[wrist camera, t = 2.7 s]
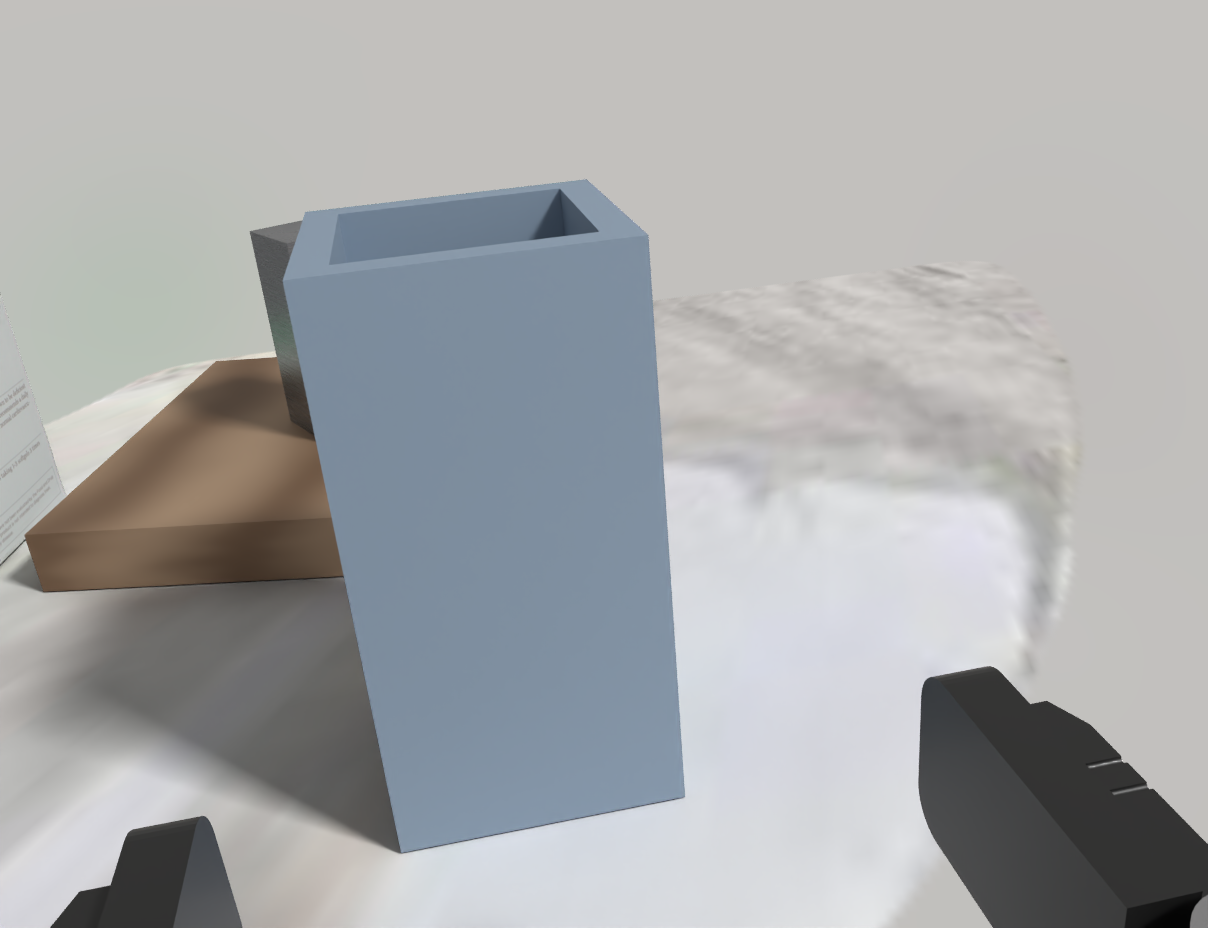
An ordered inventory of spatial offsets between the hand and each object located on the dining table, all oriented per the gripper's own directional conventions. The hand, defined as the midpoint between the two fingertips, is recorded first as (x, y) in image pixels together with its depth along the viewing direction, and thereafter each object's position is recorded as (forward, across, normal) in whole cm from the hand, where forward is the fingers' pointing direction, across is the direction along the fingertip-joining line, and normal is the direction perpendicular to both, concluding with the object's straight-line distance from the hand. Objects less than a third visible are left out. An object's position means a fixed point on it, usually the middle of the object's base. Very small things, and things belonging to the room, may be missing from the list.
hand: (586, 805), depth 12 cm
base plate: (+29, +4, +7) cm, 30 cm away
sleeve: (+11, 0, +8) cm, 14 cm away
